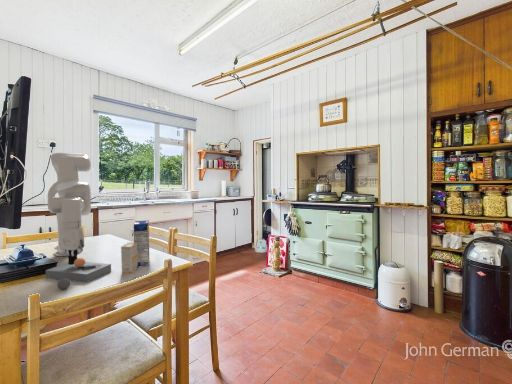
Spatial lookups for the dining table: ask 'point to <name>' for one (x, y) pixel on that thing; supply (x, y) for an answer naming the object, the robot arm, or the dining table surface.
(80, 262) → the ball
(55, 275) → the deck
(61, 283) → the ball
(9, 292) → the dining table surface
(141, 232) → the beverage box
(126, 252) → the supplement box
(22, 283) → the dining table surface
